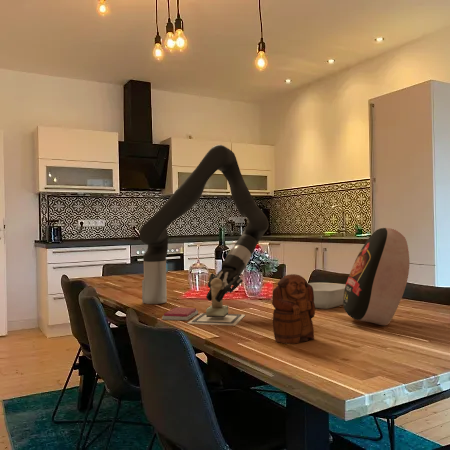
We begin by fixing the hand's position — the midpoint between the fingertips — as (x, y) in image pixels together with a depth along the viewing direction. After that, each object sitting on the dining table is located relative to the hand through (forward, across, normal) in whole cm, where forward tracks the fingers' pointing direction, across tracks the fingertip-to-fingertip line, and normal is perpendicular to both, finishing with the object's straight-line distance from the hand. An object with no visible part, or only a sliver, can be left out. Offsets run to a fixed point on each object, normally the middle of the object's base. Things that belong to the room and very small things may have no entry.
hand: (212, 299), depth 153 cm
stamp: (+2, 0, +5) cm, 6 cm away
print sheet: (+4, 0, +6) cm, 7 cm away
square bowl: (-28, +12, +38) cm, 49 cm away
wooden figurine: (+8, +36, +2) cm, 37 cm away
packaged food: (-17, +42, +27) cm, 53 cm away
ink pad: (+7, -14, +3) cm, 15 cm away
